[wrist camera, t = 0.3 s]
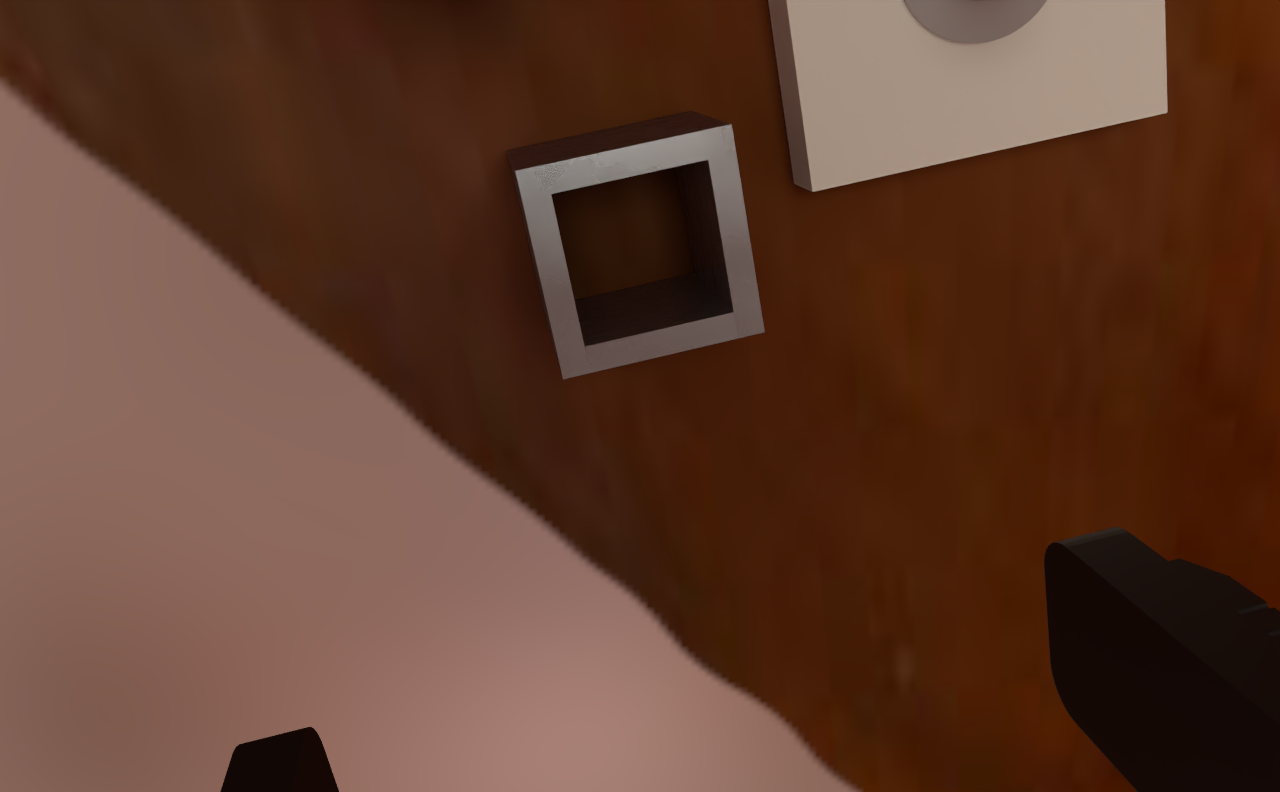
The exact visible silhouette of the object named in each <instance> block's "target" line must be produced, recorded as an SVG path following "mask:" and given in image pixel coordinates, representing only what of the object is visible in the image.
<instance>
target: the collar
mask: <svg viewBox="0 0 1280 792" xmlns="http://www.w3.org/2000/svg"><path fill="white" fill-rule="evenodd" d="M507 154H508V158H509V162H510V167H511V171H512V175H513V180H514V184H515V188H516V193H517V197H518V201H519V206H520V210H521V214H522V219H523V223H524V227H525V232H526V236H527V240H528V245H529V249H530V253H531V258H532V262H533V266H534V271H535V275H536V279H537V284H538V288H539V292H540V297H541V301H542V305H543V310H544V314H545V318H546V323H547V327H548V331H549V334H550V338H551V341H552V344H553V348H554V351H555V354H556V357H557V361H558V364H559V367H560V371H561V374H562V377H563V379H567V378H571V377H576V376H580V375H584V374H588V373H593V372H597V371H601V370H605V369H610V368H614V367H618V366H622V365H627V364H631V363H635V362H640V361H644V360H648V359H652V358H657V357H661V356H665V355H669V354H674V353H678V352H682V351H686V350H691V349H695V348H699V347H704V346H708V345H712V344H716V343H721V342H725V341H729V340H733V339H738V338H742V337H746V336H751V335H755V334H759V333H763V332H765V331H764V325H763V319H762V312H761V306H760V300H759V293H758V287H757V281H756V274H755V268H754V262H753V256H752V249H751V243H750V237H749V230H748V224H747V218H746V212H745V205H744V199H743V193H742V186H741V180H740V174H739V167H738V161H737V155H736V149H735V142H734V136H733V130H732V124H730V123H726V122H723V121H720V120H717V119H714V118H711V117H708V116H705V115H702V114H699V113H696V112H693V111H689V112H684V113H679V114H675V115H670V116H665V117H661V118H656V119H651V120H647V121H642V122H637V123H633V124H628V125H623V126H619V127H614V128H609V129H605V130H600V131H595V132H591V133H586V134H581V135H577V136H572V137H567V138H563V139H558V140H553V141H549V142H544V143H539V144H535V145H530V146H526V147H521V148H516V149H512V150H507ZM673 167H676V171H677V177H678V182H679V188H680V194H681V199H682V205H683V210H684V216H685V222H686V227H687V233H688V238H689V244H690V250H691V255H692V261H693V266H694V272H695V273H692V274H688V275H683V276H679V277H674V278H670V279H666V280H661V281H657V282H653V283H648V284H644V285H639V286H635V287H631V288H626V289H622V290H617V291H613V292H609V293H604V294H600V295H596V296H591V297H587V298H582V299H578V300H574V296H573V292H572V287H571V282H570V278H569V273H568V269H567V264H566V260H565V255H564V251H563V246H562V242H561V237H560V232H559V228H558V223H557V219H556V214H555V210H554V205H553V201H552V196H551V194H554V193H558V192H563V191H568V190H572V189H577V188H581V187H586V186H590V185H595V184H600V183H604V182H609V181H613V180H618V179H622V178H627V177H632V176H636V175H641V174H645V173H650V172H654V171H659V170H663V169H668V168H673Z"/></svg>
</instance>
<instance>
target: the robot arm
mask: <svg viewBox="0 0 1280 792" xmlns="http://www.w3.org/2000/svg"><path fill="white" fill-rule="evenodd" d="M1044 569H1045V585H1046V600H1047V616H1048V631H1049V647H1050V662H1051V669H1052V674H1053V678H1054V682H1055V685H1056V688H1057V691H1058V693H1059V696H1060V698H1061V700H1062V702H1063V704H1064V706H1065V708H1066V710H1067V712H1068V713H1069V715H1070V716H1071V718H1072V719H1073V720H1074V721H1075V723H1076V724H1077V725H1078V726H1079V727H1080V728H1081V729H1082V731H1083V732H1084V733H1085V734H1086V735H1087V736H1088V737H1089V738H1090V739H1091V741H1092V742H1093V743H1094V744H1095V745H1096V746H1097V747H1098V748H1099V749H1100V751H1101V752H1102V753H1103V754H1104V755H1105V756H1106V757H1107V758H1108V759H1109V760H1110V762H1111V763H1112V764H1113V765H1114V766H1115V767H1116V768H1117V769H1118V770H1119V772H1120V773H1121V774H1122V775H1123V776H1124V777H1125V778H1126V779H1127V780H1128V782H1129V783H1130V784H1131V785H1132V786H1133V787H1134V788H1135V789H1136V790H1137V791H1138V792H1280V611H1278V610H1277V609H1276V608H1271V609H1269V607H1268V606H1267V602H1266V601H1264V600H1263V599H1261V598H1260V597H1258V596H1257V595H1255V594H1254V593H1253V592H1251V591H1250V590H1248V589H1247V588H1245V587H1244V586H1243V585H1241V584H1240V583H1238V582H1237V581H1235V580H1234V579H1233V578H1231V577H1230V576H1227V575H1224V574H1221V573H1219V572H1216V571H1213V570H1210V569H1207V568H1205V567H1202V566H1199V565H1196V564H1193V563H1191V562H1188V561H1185V560H1182V559H1176V560H1172V561H1167V560H1166V559H1164V558H1163V557H1162V556H1160V555H1159V554H1158V553H1156V552H1155V551H1154V550H1152V549H1151V548H1149V547H1148V546H1147V545H1145V544H1144V543H1143V542H1141V541H1140V540H1139V539H1137V538H1136V537H1135V536H1133V535H1132V534H1130V533H1129V532H1128V531H1126V530H1124V529H1122V528H1119V527H1113V528H1109V529H1105V530H1101V531H1097V532H1094V533H1090V534H1086V535H1082V536H1078V537H1074V538H1070V539H1066V540H1062V541H1058V542H1054V543H1051V544H1050V545H1049V546H1048V548H1047V549H1046V553H1045V559H1044ZM221 792H339V790H338V787H337V784H336V782H335V779H334V776H333V773H332V770H331V767H330V764H329V761H328V758H327V755H326V752H325V750H324V747H323V744H322V741H321V739H320V737H319V735H318V733H317V732H316V731H315V730H314V729H313V728H312V727H307V728H303V729H299V730H295V731H291V732H287V733H283V734H279V735H275V736H271V737H267V738H263V739H259V740H255V741H251V742H247V743H243V744H239V745H238V746H237V747H236V748H235V750H234V752H233V754H232V758H231V761H230V764H229V767H228V770H227V773H226V776H225V779H224V783H223V786H222V789H221Z"/></svg>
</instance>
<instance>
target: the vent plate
mask: <svg viewBox="0 0 1280 792" xmlns="http://www.w3.org/2000/svg"><path fill="white" fill-rule="evenodd" d="M768 4H769V11H770V18H771V25H772V32H773V39H774V46H775V53H776V60H777V67H778V74H779V81H780V88H781V95H782V102H783V109H784V116H785V123H786V130H787V137H788V144H789V152H790V159H791V166H792V173H793V180H794V184H796V185H798V186H800V187H802V188H805V189H807V190H809V191H811V192H815V191H819V190H824V189H828V188H833V187H837V186H842V185H846V184H851V183H855V182H860V181H864V180H869V179H873V178H878V177H882V176H886V175H891V174H895V173H900V172H904V171H909V170H913V169H918V168H922V167H927V166H931V165H936V164H940V163H945V162H949V161H954V160H958V159H962V158H967V157H971V156H976V155H980V154H985V153H989V152H994V151H998V150H1003V149H1007V148H1012V147H1016V146H1021V145H1025V144H1030V143H1034V142H1038V141H1043V140H1047V139H1052V138H1056V137H1061V136H1065V135H1070V134H1074V133H1079V132H1083V131H1088V130H1092V129H1097V128H1101V127H1106V126H1110V125H1115V124H1119V123H1123V122H1128V121H1132V120H1137V119H1141V118H1146V117H1150V116H1155V115H1159V114H1164V113H1167V73H1166V30H1165V0H768Z"/></svg>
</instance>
